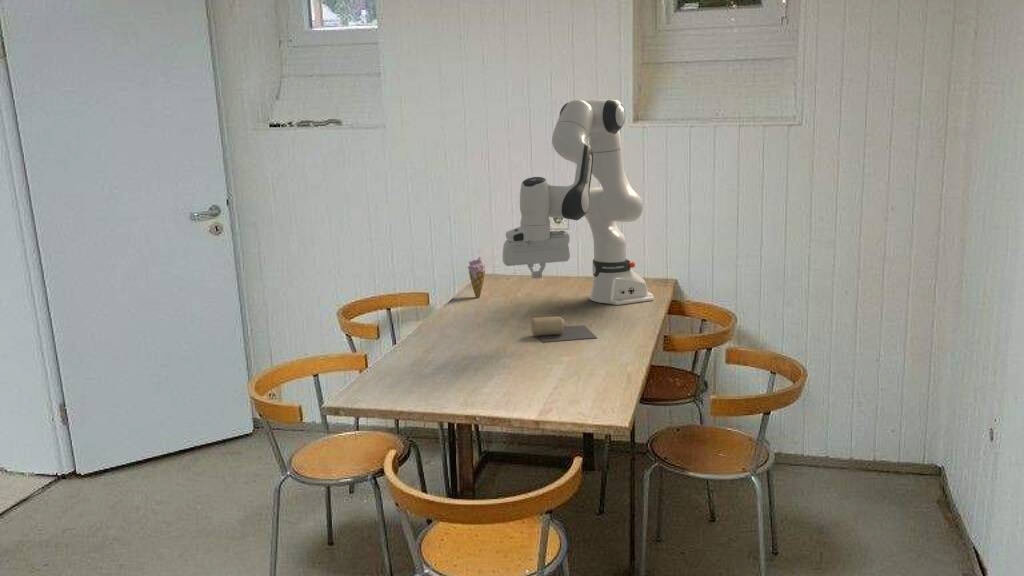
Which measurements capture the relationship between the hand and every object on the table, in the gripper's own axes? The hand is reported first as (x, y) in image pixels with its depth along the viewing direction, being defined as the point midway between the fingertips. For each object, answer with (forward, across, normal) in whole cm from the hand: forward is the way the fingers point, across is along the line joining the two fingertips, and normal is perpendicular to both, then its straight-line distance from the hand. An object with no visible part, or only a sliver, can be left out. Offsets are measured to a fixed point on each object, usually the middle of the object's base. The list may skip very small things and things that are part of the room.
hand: (536, 277), depth 274 cm
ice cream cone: (+19, +10, -53) cm, 57 cm away
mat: (+18, -8, 0) cm, 20 cm away
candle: (+15, +2, 0) cm, 15 cm away
